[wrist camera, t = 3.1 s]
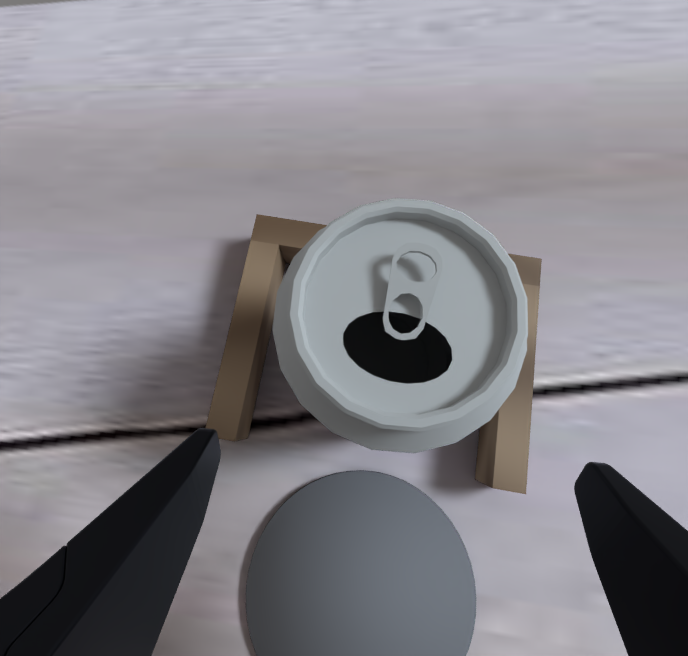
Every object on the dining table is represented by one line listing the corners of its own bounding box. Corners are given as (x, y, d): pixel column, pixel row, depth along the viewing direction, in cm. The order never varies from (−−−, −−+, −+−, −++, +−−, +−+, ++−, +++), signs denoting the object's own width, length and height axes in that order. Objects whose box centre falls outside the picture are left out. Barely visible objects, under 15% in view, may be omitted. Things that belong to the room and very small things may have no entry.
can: (290, 415, 21) (221, 416, 9) (325, 286, 23) (303, 146, 11) (428, 450, 21) (538, 497, 9) (453, 316, 22) (575, 204, 10)
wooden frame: (503, 484, 20) (525, 494, 18) (220, 433, 21) (203, 435, 18) (520, 275, 23) (541, 258, 20) (266, 235, 23) (257, 214, 21)
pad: (460, 746, 18) (463, 754, 17) (224, 697, 18) (221, 703, 18) (483, 491, 20) (486, 492, 20) (273, 453, 21) (272, 453, 20)
